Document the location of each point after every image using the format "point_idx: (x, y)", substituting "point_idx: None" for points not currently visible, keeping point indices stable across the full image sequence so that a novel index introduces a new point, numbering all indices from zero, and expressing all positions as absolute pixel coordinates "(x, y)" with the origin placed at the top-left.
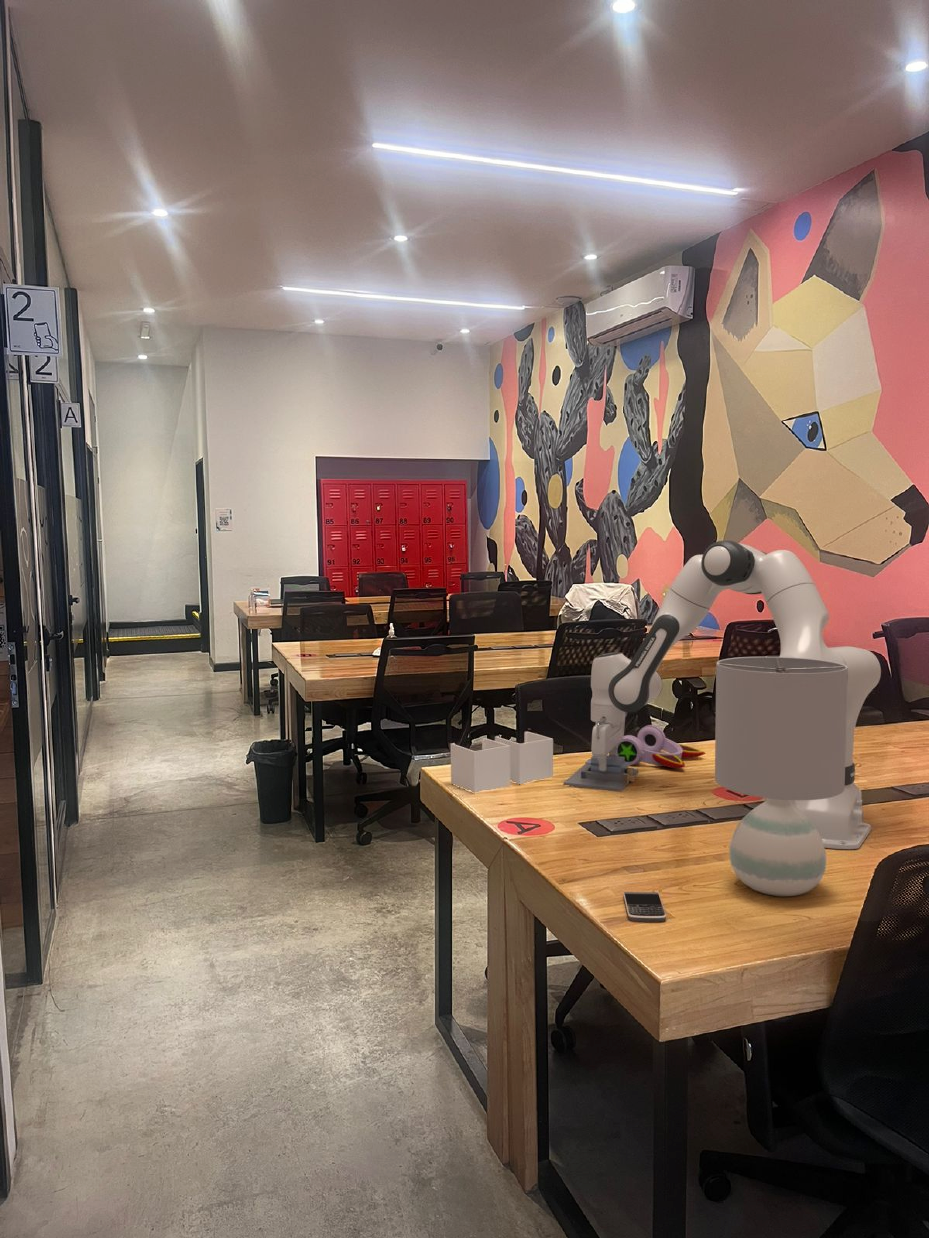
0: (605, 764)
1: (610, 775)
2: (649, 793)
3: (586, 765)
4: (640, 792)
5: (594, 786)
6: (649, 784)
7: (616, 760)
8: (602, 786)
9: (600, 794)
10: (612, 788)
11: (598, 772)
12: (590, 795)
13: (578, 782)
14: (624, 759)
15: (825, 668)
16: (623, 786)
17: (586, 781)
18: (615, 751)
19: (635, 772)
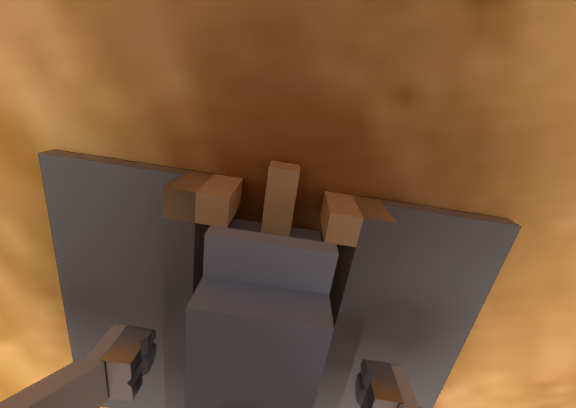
0: (417, 405)
1: (367, 310)
2: (561, 40)
3: None
4: (531, 105)
5: (459, 345)
6: (328, 55)
7: (324, 356)
8: (476, 316)
9: (556, 307)
10: (494, 268)
11: (331, 371)
12: (569, 343)
13: None
14: (198, 291)
15: None
16: (462, 216)
17: None
18: (66, 389)
19: (126, 167)
